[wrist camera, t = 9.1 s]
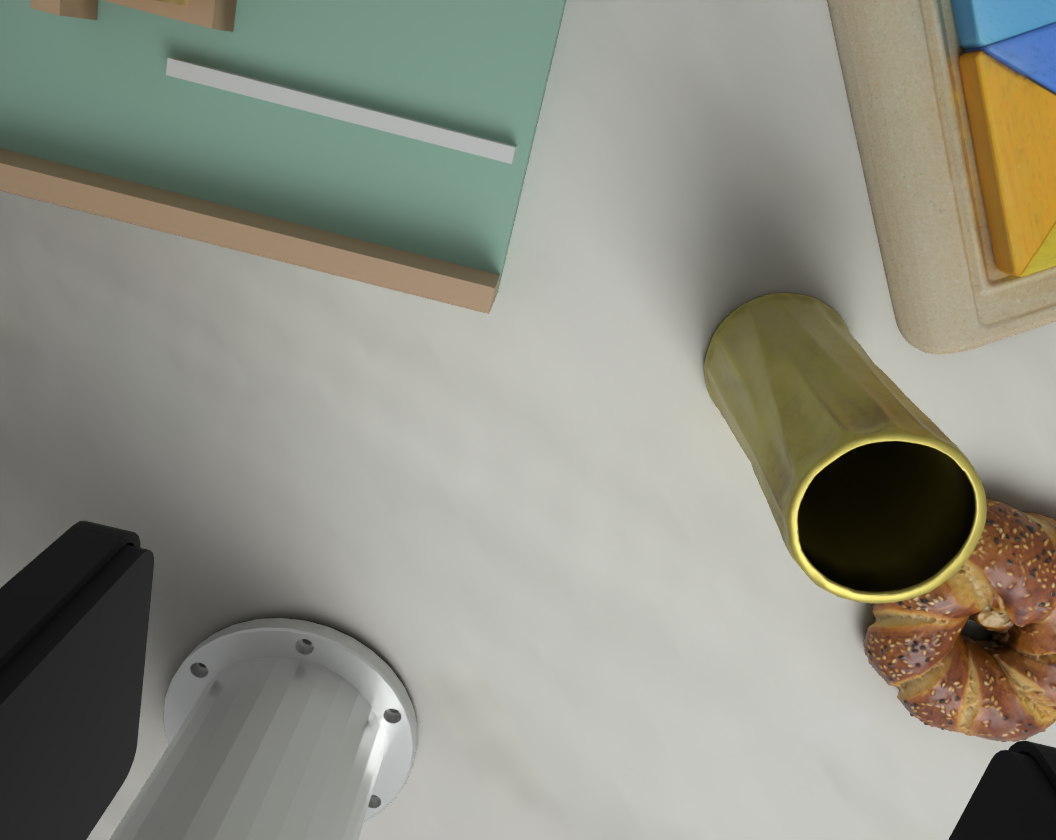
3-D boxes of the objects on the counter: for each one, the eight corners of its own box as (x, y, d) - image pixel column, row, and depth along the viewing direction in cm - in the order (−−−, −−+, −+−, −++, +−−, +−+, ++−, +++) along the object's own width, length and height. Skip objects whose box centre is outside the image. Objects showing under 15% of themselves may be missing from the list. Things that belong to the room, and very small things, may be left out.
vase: (696, 303, 36) (761, 431, 23) (850, 280, 36) (1009, 399, 22) (710, 440, 38) (778, 630, 25) (856, 421, 38) (1005, 607, 24)
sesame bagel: (832, 519, 40) (855, 559, 36) (1088, 458, 38) (1139, 494, 35) (877, 733, 44) (903, 788, 40) (1113, 686, 42) (1161, 739, 38)
